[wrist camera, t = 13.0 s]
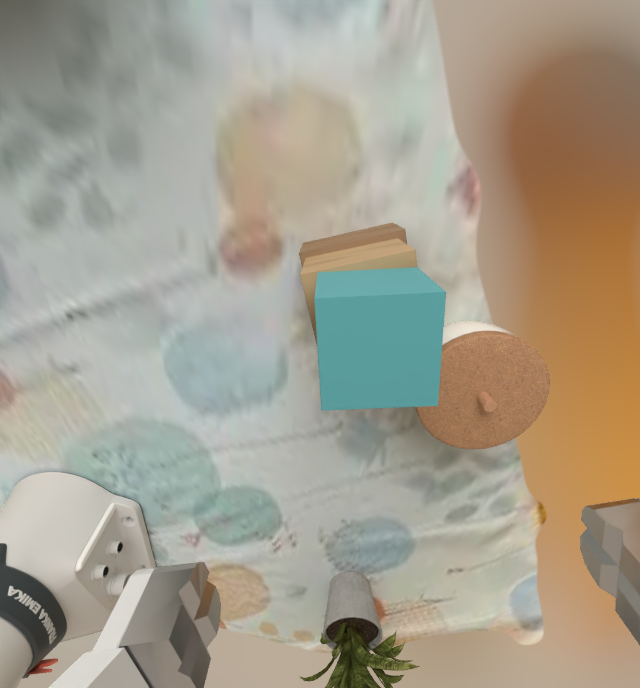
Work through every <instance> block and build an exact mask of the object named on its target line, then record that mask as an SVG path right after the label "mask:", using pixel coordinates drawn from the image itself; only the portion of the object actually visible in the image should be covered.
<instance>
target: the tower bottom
mask: <svg viewBox="0 0 640 688" xmlns="http://www.w3.org/2000/svg"><path fill="white" fill-rule="evenodd" d="M396 238H399V239H400V240H401V241H403V242H404V243H406V244H407V240H406V232H405V229H404V228H402V227H400V226H398V225H396V224H394V223H389V224H385V225H380V226H376V227H371V228H367V229H363V230H358V231H354V232H350V233H345V234H341V235H337V236H332V237H328V238H323V239H319V240H315V241H310V242H306V243H303V246H302V248H301V250H300V252H299V255H300V260H301V264H302V268H303V264H304V261H305V258H308V257H313V256H318V255H322V254H327V253H331V252H336V251H341V250H345V249H350V248H354V247H359V246H364V245H368V244H373V243H377V242H382V241H387V240H391V239H396Z"/></svg>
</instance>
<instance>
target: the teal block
mask: <svg viewBox="0 0 640 688" xmlns="http://www.w3.org/2000/svg"><path fill="white" fill-rule="evenodd" d="M445 298H446V292H445V291H444V290H443V289H442V288H441V287H440V286H438V285H437V284H436V283H435V282H434V281H433V280H431V279H430V278H429V277H428V276H427V275H426V274H425V273H423V272H422V271H421V270H420V269H419V268H418V267H411V268H391V269H372V270H353V271H334V272H318V274H317V282H316V290H315V298H314V299H315V315H316V331H317V347H318V363H319V378H320V394H321V410H344V409H370V408H396V407H423V406H438V398H439V384H440V370H441V355H442V341H443V327H444V312H445Z"/></svg>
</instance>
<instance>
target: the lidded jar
mask: <svg viewBox="0 0 640 688" xmlns="http://www.w3.org/2000/svg"><path fill="white" fill-rule="evenodd" d="M549 384H550V382H549V374H548V370H547V366H546V364H545V362H544V360H543V358H542V357H541V356H540V354H539V353H538V352H537V351H536V350H535V349H534V348H533V347H532V346H530V345H529V344H528V343H527V342H525V341H523V340H522V339H520V338H518V337H516V336H515V335H513V334H512V333H510V332H508V331H506V330H504V329H502V328H500V327H498V326H495V325H493V324H490V323H485V322H480V321H460V322H455V323H451V324H448V325H446V326H444V327H443V341H442V355H441V370H440V384H439V398H438V406H423V407H416V411H417V413H418V416H419V418H420V420H421V422H422V424H423V425H424V427H425V428H426V430H427V431H428V432H429V433H430V434H431V435H432V436H434V437H435V438H437V439H438V440H439V441H442V442H444V443H446V444H448V445H451V446H454V447H458V448H464V449H484V448H489V447H494V446H497V445H500V444H503V443H506V442H508V441H510V440H512V439H513V438H515V437H517V436H518V435H520V434H521V433H523V432H524V431H525V430H526V429H527V428H528V427H530V426H531V424H532V423H533V422H534V421H535V420H536V419H537V417H538V416H539V415H540V413H541V411H542V409H543V408H544V405H545V404H546V400H547V397H548V393H549Z"/></svg>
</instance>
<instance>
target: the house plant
mask: <svg viewBox="0 0 640 688" xmlns="http://www.w3.org/2000/svg"><path fill="white" fill-rule="evenodd" d="M395 637H396V632H395V634H394V635H392V636H390V637H389V638H387V639H386V640H385V641H383V642H382V643H381V644H380V645H378V644H379V643H380V642H381V639H382V629H381V625H380V622H379V618H378V614H377V611H376V607H375V603H374V600H373V596H372V592H371V589H370V585H369V582H368V580H367V578H366V577H365V576H363V575H361V574H359V573H356V572H344V573H340V574H338V575H336V576H335V577H334V578H333V579H332V581H331V585H330V591H329V598H328V604H327V610H326V617H325V623H324V630H323V634H322V637H321V640H320V642H321V643H322V644H327V645H328V646H329V647H330V648H332V649H333V651H332V656H333V659H332V661H331V662H330V663H329V664H328V666H327V667H326V668H325V669H323V670H322V671H321V672H319V673H318V674H316V675H313V676H311V677H308V678H303V677H301V678H302V679H303V680H304V681H314V680H316V679H318V678H319V677H320V676H322V675H323V674H324V673H325V672H326V671H327V670H328V669H329V668H330V666H331V665H332V663H333V662H334V660H335V659H336V658H337V656H338V655H339V653H340V652H341V654H340V657H339V660H338V662H337V665H336V667H335V669H334V671H333V673H332V675H331V677H330V680H329V682H328V684H327V686H326V687H325V688H332V687H334V688H381V687H380V686H379V685H378V684H377V683H376V682H375V681H374V679H373V678H372V676H371V675H370V673H369V671H368V669H367V667H366V666H368V667H371V668H372V669H373V671H374V672H375V673H376V675H377V677H378V678H379V677H380V678H381V679H382V680H383V682H384V684H385V685H384V684H383V682H382V681H381V680H380V681H381V682H382V684H383V685H384V687H385V688H386V687H387V688H393V687H392V685H391V684H390V683H396V682H398V681H400V680H401V679H402V677H403V676H404V675H400V676H391V675H386V674H385V673H384V671H383V670H382V669H385V670H397V671H398V670H408V669H412V668H417V667H419V666H416V665H413V664H408V663H406V662H410V661H403V660H398V659H395V658H393V657H396V656H397V655H398V654H399V653H400V652H401V650H402V648H403V646H404V643H405V642H404V643H403V645H400V646H397V647H394V648H392V647H393V645H394V642H395ZM370 650H373V652H374V653H375V654H377V655H374V654H370V652H369V651H370ZM378 655H379V656H378ZM388 658H392V659H393V660H395V661H393V660H391V659H388ZM396 661H397V662H396ZM398 662H402V663H398ZM404 662H405V663H404ZM380 678H379V679H380ZM340 685H341V686H340Z"/></svg>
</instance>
